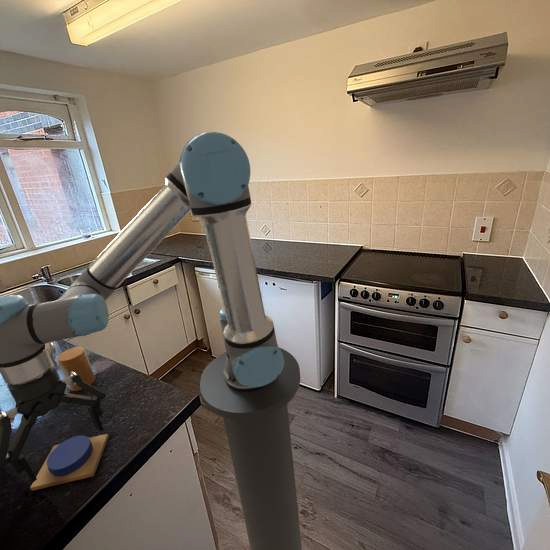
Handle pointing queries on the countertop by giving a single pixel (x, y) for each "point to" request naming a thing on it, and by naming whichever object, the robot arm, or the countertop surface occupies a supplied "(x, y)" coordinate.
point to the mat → (83, 472)
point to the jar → (76, 366)
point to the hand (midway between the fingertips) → (68, 451)
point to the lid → (69, 455)
